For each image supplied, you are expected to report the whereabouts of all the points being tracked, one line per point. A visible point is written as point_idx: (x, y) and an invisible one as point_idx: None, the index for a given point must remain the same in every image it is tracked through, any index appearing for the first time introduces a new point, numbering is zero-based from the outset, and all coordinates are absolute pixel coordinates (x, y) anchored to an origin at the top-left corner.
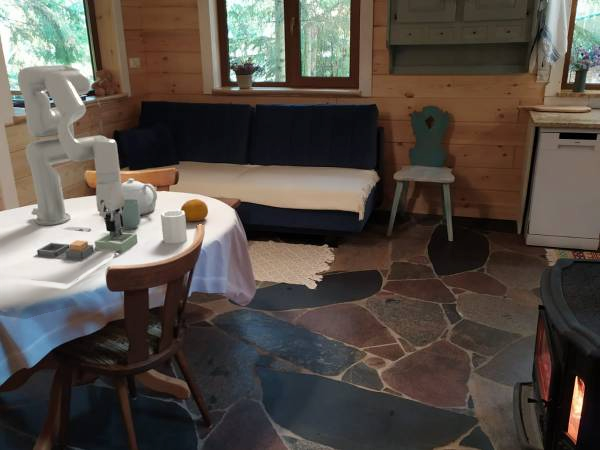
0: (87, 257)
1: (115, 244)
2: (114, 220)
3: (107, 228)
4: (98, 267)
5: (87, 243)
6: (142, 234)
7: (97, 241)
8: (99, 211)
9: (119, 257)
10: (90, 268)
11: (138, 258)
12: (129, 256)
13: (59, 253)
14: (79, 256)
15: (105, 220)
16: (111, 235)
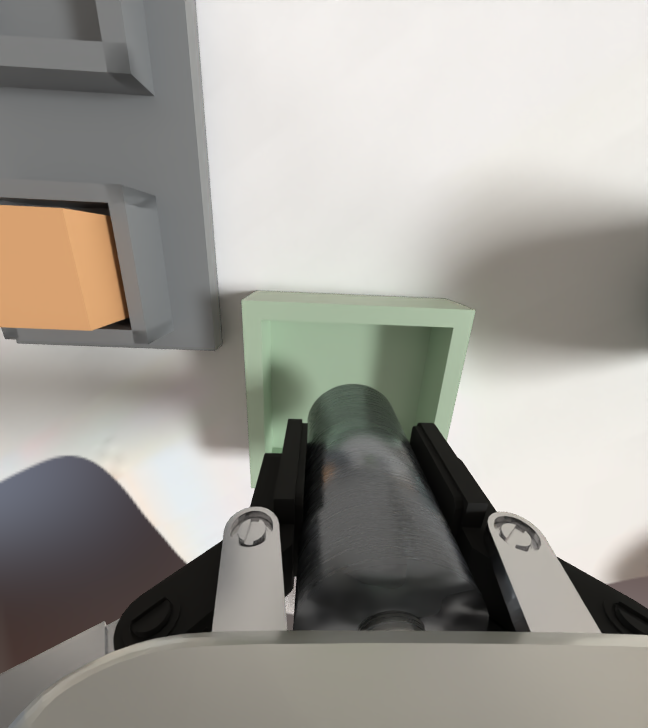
0: (84, 342)
1: (250, 451)
2: (292, 585)
3: (263, 458)
4: (62, 432)
5: (98, 325)
6: (551, 421)
7: (247, 322)
8: (90, 680)
9: (210, 462)
10: (31, 402)
11: None
12: (236, 495)
13: (7, 81)
14: None
15: (244, 519)
16: (308, 418)
